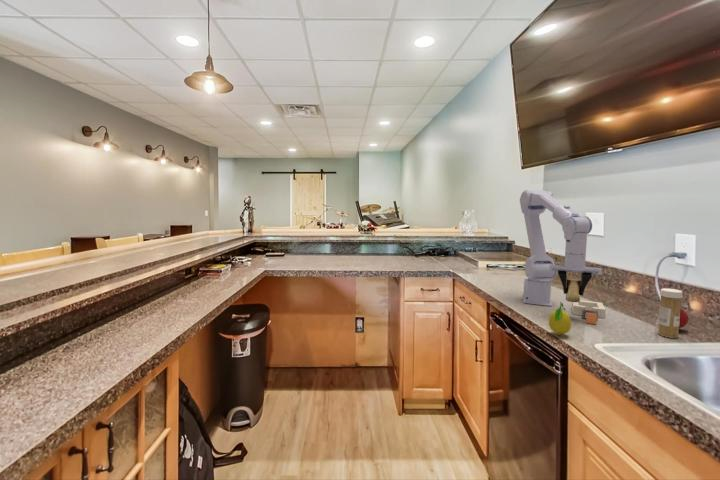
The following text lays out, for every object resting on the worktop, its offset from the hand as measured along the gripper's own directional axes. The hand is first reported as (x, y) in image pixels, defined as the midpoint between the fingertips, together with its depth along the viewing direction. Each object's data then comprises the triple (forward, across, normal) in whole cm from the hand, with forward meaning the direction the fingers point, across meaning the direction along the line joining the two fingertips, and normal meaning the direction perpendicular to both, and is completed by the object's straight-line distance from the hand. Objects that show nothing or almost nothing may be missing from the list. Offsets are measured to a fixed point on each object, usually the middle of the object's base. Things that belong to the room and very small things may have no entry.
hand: (573, 294), depth 110 cm
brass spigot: (+2, 0, 0) cm, 2 cm away
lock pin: (+8, +5, -1) cm, 10 cm away
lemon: (+8, -4, -19) cm, 21 cm away
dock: (+8, +5, +9) cm, 13 cm away
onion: (+8, +26, +2) cm, 27 cm away
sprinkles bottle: (+8, +23, -5) cm, 25 cm away
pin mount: (+8, +5, +2) cm, 10 cm away
